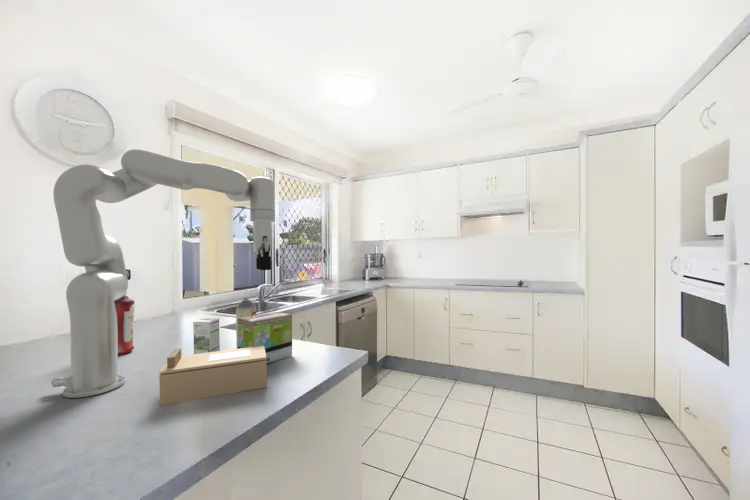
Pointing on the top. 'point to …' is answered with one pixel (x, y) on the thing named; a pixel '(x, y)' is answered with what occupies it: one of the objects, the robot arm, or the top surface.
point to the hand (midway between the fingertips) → (263, 269)
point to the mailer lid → (211, 359)
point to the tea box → (267, 334)
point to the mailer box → (212, 381)
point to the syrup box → (206, 335)
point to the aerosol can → (244, 311)
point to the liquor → (124, 324)
